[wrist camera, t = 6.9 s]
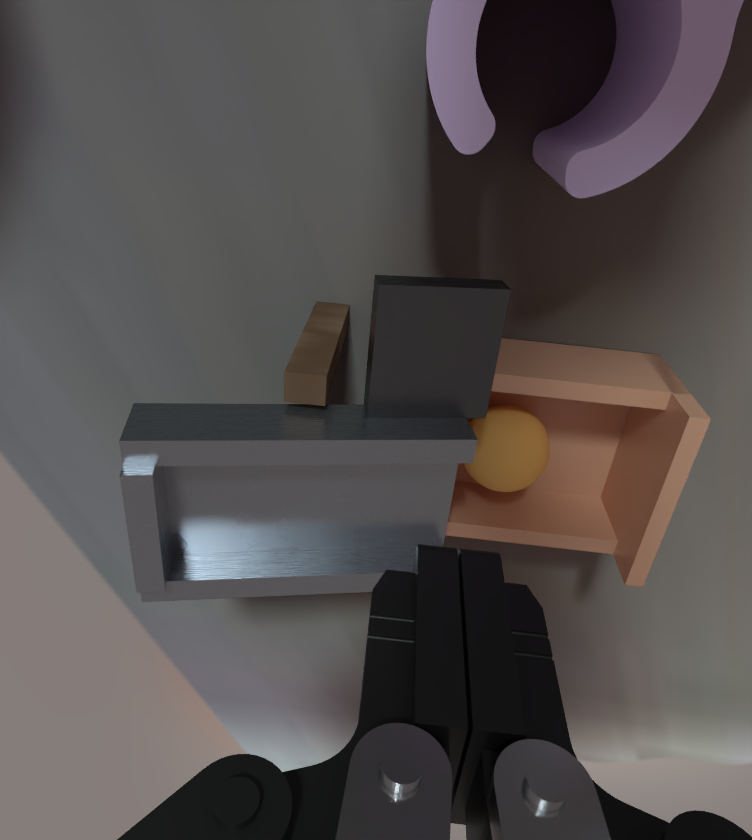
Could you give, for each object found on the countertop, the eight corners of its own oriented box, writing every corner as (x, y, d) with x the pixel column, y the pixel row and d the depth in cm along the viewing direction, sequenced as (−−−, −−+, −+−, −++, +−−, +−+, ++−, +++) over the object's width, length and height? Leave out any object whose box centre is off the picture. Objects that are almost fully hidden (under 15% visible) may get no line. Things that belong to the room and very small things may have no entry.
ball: (460, 387, 29) (478, 431, 26) (543, 391, 30) (571, 435, 26) (448, 458, 31) (463, 508, 28) (526, 461, 32) (550, 511, 28)
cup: (427, 484, 33) (427, 562, 28) (450, 332, 29) (455, 391, 24) (608, 504, 33) (642, 586, 28) (659, 354, 29) (710, 419, 24)
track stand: (309, 483, 34) (281, 583, 27) (316, 301, 29) (284, 371, 22) (337, 486, 34) (315, 587, 27) (349, 304, 29) (326, 376, 22)
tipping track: (152, 556, 26) (139, 611, 23) (116, 264, 20) (94, 296, 17) (451, 546, 28) (469, 596, 25) (502, 280, 22) (532, 310, 19)
